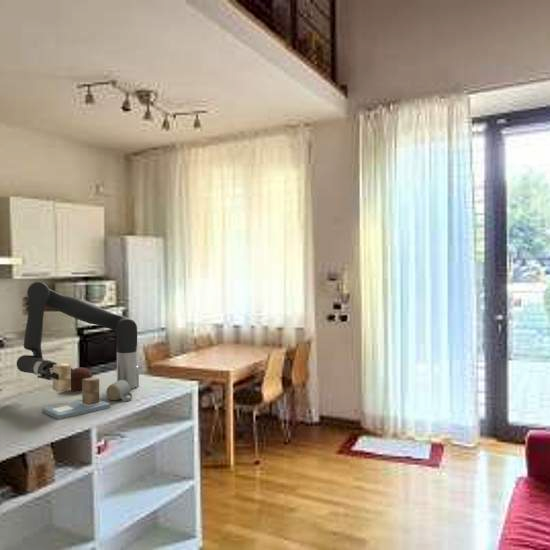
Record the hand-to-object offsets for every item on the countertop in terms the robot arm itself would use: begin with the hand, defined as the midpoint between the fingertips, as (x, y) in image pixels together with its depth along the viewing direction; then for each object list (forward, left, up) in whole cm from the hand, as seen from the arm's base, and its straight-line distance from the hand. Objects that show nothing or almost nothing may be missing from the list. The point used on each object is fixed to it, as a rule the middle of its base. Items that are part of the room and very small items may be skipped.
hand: (64, 375), depth 212 cm
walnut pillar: (-12, -3, -14) cm, 18 cm away
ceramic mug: (-27, -4, -16) cm, 32 cm away
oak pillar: (0, -3, -6) cm, 7 cm away
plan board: (-6, -3, -15) cm, 17 cm away
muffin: (-23, -34, -16) cm, 44 cm away
